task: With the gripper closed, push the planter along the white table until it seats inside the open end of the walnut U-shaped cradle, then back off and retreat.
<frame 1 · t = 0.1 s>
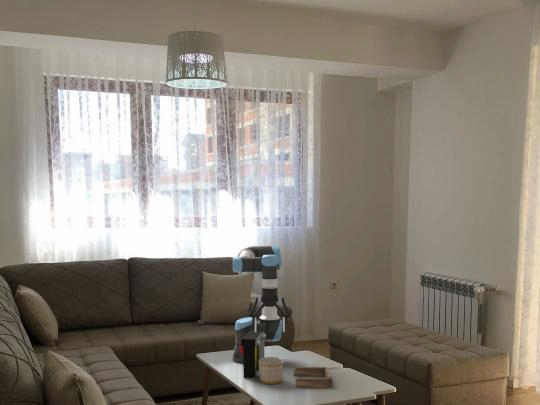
hand: (269, 331, 261), 28 cm above the table, fingers open, 13 cm apart
electrical component: (253, 373, 286), on the table
planter: (271, 381, 273), on the table
walnut cradle: (310, 380, 273), on the table
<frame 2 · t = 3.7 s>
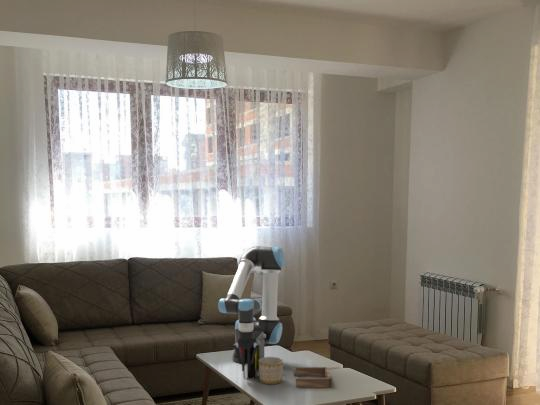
hand: (245, 377, 272), 2 cm above the table, fingers closed
nothing on the table moved.
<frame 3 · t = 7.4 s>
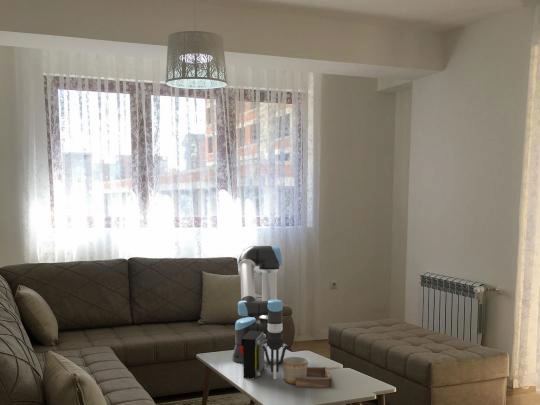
hand: (274, 378, 272), 2 cm above the table, fingers closed
planter: (295, 381, 273), on the table, touching hand
everything else where it was.
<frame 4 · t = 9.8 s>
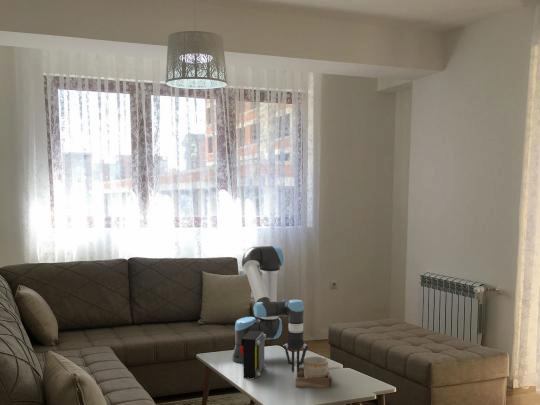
hand: (295, 378, 272), 2 cm above the table, fingers closed
planter: (315, 381, 273), on the table, touching hand, walnut cradle
everything else where it was.
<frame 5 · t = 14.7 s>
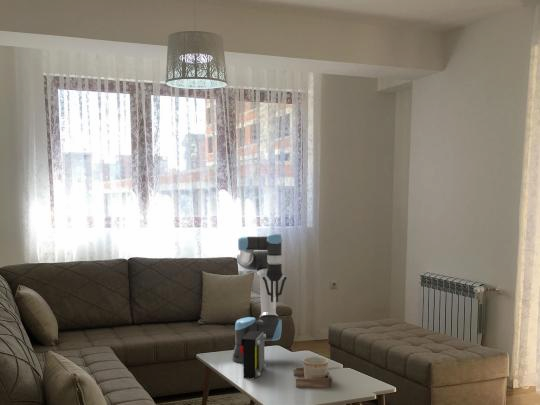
hand: (274, 308, 284), 34 cm above the table, fingers closed
planter: (315, 381, 273), on the table
everything else where it was.
at the end: planter inside the target area (1.5 cm from its centre), on the table; planter tilted 0°; planter moved 22.5 cm from its start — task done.
